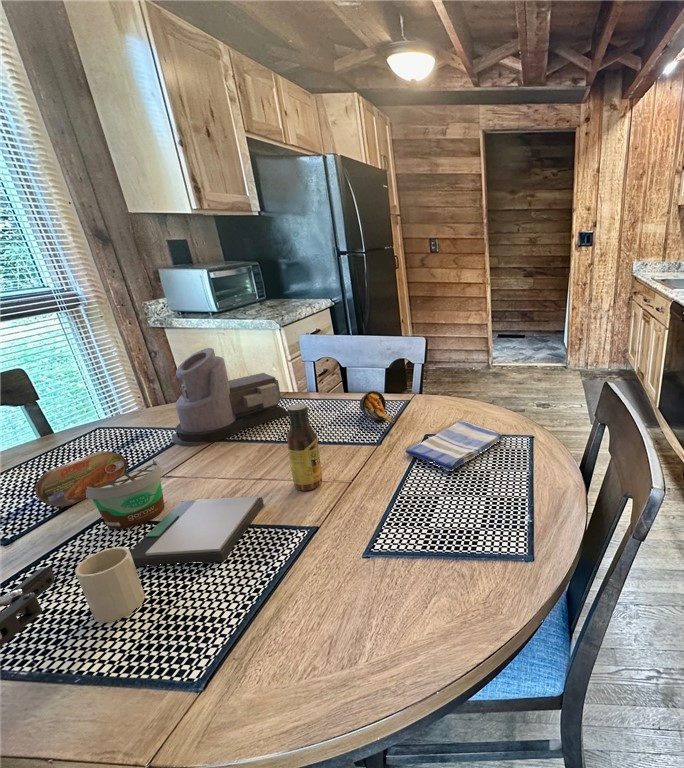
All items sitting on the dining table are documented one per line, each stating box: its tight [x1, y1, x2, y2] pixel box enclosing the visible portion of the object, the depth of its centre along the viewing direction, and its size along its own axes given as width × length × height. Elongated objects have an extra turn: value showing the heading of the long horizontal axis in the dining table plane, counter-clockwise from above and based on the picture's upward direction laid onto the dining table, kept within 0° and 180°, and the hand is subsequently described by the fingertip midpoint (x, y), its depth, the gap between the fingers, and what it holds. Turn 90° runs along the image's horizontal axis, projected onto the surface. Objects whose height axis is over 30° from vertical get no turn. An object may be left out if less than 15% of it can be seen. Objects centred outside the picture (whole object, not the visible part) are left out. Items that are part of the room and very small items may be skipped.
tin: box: [34, 451, 128, 508], centre depth 91 cm, size 15×3×8 cm, turn 161°
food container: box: [86, 459, 165, 530], centre depth 84 cm, size 12×6×10 cm, turn 160°
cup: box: [74, 546, 146, 624], centre depth 64 cm, size 6×6×9 cm
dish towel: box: [405, 420, 505, 470], centre depth 118 cm, size 17×24×3 cm
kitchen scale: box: [129, 496, 264, 568], centre depth 81 cm, size 16×17×3 cm
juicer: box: [171, 347, 289, 447], centre depth 123 cm, size 30×16×24 cm, turn 145°
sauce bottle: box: [286, 403, 323, 492], centre depth 95 cm, size 7×6×20 cm
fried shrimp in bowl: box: [359, 390, 396, 424], centre depth 133 cm, size 9×11×18 cm
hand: (9, 575), depth 49 cm, fingers open, 8 cm apart
